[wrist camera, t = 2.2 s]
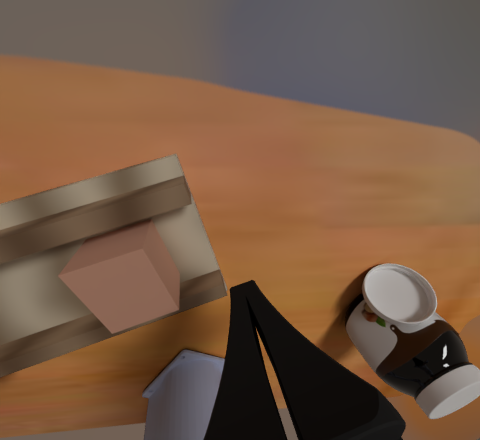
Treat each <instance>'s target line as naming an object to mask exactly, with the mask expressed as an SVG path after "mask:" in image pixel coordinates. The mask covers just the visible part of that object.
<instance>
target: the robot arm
mask: <svg viewBox="0 0 480 440" xmlns="http://www.w3.org/2000/svg"><path fill="white" fill-rule="evenodd" d="M230 298H231V313H230V327H229V335H228V343H227V350H226V356H225V359H223V358H219V357H215V356H211V355H207V354H203V353H199V352H195V351H191V350H183V351H181V352H180V353H179V355H178V356H177V357H176V358H175V359H174V360H173V361H172V362H171V363H170V364H169V365H168V366H167V367H166V368H165V369H164V370H163V371H162V373H161V374H160V375H159V376H158V377H157V378H156V379H155V380H154V381H153V382H152V383H151V384H150V385H149V386H148V387H147V388H146V389H145V391H144V392H143V394H142V396H143V397H144V398H149V401H148V409H147V417H146V426H145V434H144V440H287V437H286V434H285V431H284V427H283V424H282V421H281V418H280V415H279V412H278V408H277V405H276V402H275V399H274V396H273V393H272V389H271V386H270V383H269V380H268V376H267V373H266V369H265V365H264V360H263V356H262V352H261V348H260V344H259V339H258V335H257V331H258V333H259V336H260V338H261V340H262V343H263V345H264V347H265V350H266V352H267V354H268V356H269V359H270V361H271V363H272V366H273V368H274V371H275V373H276V376H277V379H278V382H279V385H280V388H281V390H282V393H283V396H284V399H285V402H286V405H287V408H288V411H289V414H290V417H291V420H292V422H293V425H294V428H295V431H296V434H297V437H298V440H403V439H402V438H401V436H402V434H403V432H404V430H405V426H406V425H405V421H404V420H403V419H402V417H401V415H400V414H399V413H398V411H397V410H396V409H395V408H394V407H393V405H392V404H391V403H390V402H389V401H388V400H387V399H386V398H385V397H384V396H383V394H382V393H381V392H380V391H379V390H378V389H377V388H375V387H374V386H372V385H371V384H369V383H368V382H366V381H364V380H363V379H361V378H360V377H358V376H357V375H355V374H354V373H352V372H351V371H349V370H348V369H346V368H345V367H343V366H342V365H341V364H339V363H338V362H336V361H335V360H334V359H332V358H331V357H330V356H328V355H327V354H326V353H324V352H323V351H322V350H320V349H319V348H318V347H316V346H315V345H314V344H313V343H311V342H310V341H309V340H308V339H307V338H305V337H304V336H303V335H302V334H301V333H300V332H299V331H297V330H296V329H295V328H294V327H293V326H292V325H291V324H290V323H289V322H288V321H287V320H286V319H285V318H284V317H283V316H282V315H281V314H280V313H279V312H278V311H277V310H276V309H275V308H274V306H273V305H272V304H271V303H270V302H269V301H268V300H267V298H266V297H265V296H264V295H263V293H262V292H261V291H260V289H259V288H258V286H257V285H256V283H255V281H253V280H251V281H248V282H245V283H242V284H240V285H237V286H234V287H231V288H230ZM255 326H256V327H255ZM256 329H257V331H256ZM477 440H480V438H479V439H477Z"/></svg>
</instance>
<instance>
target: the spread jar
mask: <svg viewBox="0 0 480 440" xmlns="http://www.w3.org/2000/svg"><path fill="white" fill-rule="evenodd" d="M436 307H437V298H436V295H435V292H434V290H433V288H432V286H431V285H430V284H429V282H428V281H427V280H426V279H425V278H424V277H423V276H422V275H420V274H419V273H417V272H416V271H414V270H412V269H410V268H408V267H405V266H402V265H398V264H381V265H378V266H376V267H374V268H372V269H371V270H370V271H369V272H368V273H367V274H366V276H365V278H364V281H363V284H362V294H360V295H359V296H358V297H357V298H356V299H355V300H354V301H353V302H352V303H351V304H350V306H349V308H348V311H347V313H346V317H345V327H346V331H347V333H348V336H349V337H350V339H351V341H352V342H353V344H354V345H355V347H356V348H357V350H358V351H359V352H360V354H361V355H362V356H363V358H364V359H365V361H366V362H367V363H368V364H369V366H370V367H371V368H372V369H373V371H374V372H375V373H376V374H377V375H378V376H379V377H380V378H381V379H382V380H383V381H384V382H385V383H387V384H388V385H390V386H391V387H393V388H394V389H396V390H398V391H400V392H402V393H405V394H407V395H410V396H412V397H414V399H415V400H416V402H417V404H418V405H419V406H420V407H421V409H422V410H423V411H424V412H425V414H426V415H427V416H428V417H429V418H430V419H437V418H440V417H443V416H446V415H448V414H450V413H452V412H454V411H456V410H458V409H460V408H462V407H463V406H465V405H467V404H468V403H470V402H471V401H473V400H474V399H476V398H477V397H478V396H480V370H479V369H478V368H477V367H476V366H474V365H473V364H472V363H469V361H468V357H467V353H466V349H465V346H464V344H463V342H462V340H461V338H460V336H459V334H458V333H457V332H456V331H455V329H454V328H453V327H452V326H451V325H450V324H448V323H447V322H446V321H445V320H444V319H443V318H442V317H441V316H439V315H438V314H437V313H436V312H435V311H436Z"/></svg>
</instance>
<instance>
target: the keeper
mask: <svg viewBox="0 0 480 440" xmlns="http://www.w3.org/2000/svg"><path fill="white" fill-rule="evenodd" d="M58 277H59V278H60V279H61V280H62V281H63V282H64V283H65V284H66V285H67V286H68V287H69V288H70V289H71V290H72V292H73V293H74V294H75V295H76V296H77V297H78V298H79V299H80V300H81V301H82V302H83V303H84V304H85V305H86V306H87V308H88V309H89V310H90V311H91V312H92V313H93V314H94V315H95V316H96V317H97V318H98V319H99V320H100V321H101V322H102V324H103V325H104V326H105V327H106V328H107V329H108V330H109V331H110V332H111V333H112V334H113V333H116V332H119V331H122V330H125V329H127V328H130V327H133V326H136V325H138V324H141V323H144V322H147V321H150V320H152V319H155V318H158V317H161V316H163V315H166V314H169V313H172V312H175V311H177V310H179V295H180V273H179V271H178V269H177V267H176V265H175V263H174V261H173V260H172V258H171V256H170V254H169V252H168V250H167V248H166V246H165V244H164V242H163V240H162V238H161V236H160V235H159V233H158V231H157V229H156V227H155V225H154V223H153V221H152V219H150V220H147V221H143V222H140V223H137V224H134V225H131V226H127V227H124V228H121V229H118V230H115V231H111V232H108V233H105V234H102V235H99V236H96V237H92V238H89V239H86V240H85V241H84V242H83V244H82V245H81V246H80V248H79V249H78V250H77V252H76V253H75V254H74V255H73V257H72V258H71V259H70V261H69V262H68V263H67V265H66V266H65V267H64V269H63V270H62V271H61V272H60V274H59V275H58Z"/></svg>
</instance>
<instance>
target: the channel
mask: <svg viewBox="0 0 480 440" xmlns="http://www.w3.org/2000/svg"><path fill="white" fill-rule="evenodd" d="M150 219H152V221H153V223H154V225H155V227H156V229H157V231H158V233H159V235H160V236H161V238H162V240H163V242H164V244H165V246H166V248H167V250H168V252H169V254H170V256H171V258H172V260H173V261H174V263H175V265H176V267H177V269H178V271H179V273H180V295H179V310H177V311H175V312H172V313H169V314H166V315H163V316H161V317H158V318H155V319H152V320H150V321H147V322H144V323H141V324H138V325H136V326H133V327H130V328H127V329H125V330H122V331H119V332H116V333H113V334H112V333H111V332H110V331H109V330H108V329H107V328H106V327H105V326H104V325H103V324H102V322H101V321H100V320H99V319H98V318H97V317H96V316H95V315H94V314H93V313H92V312H91V311H90V310H89V309H88V308H87V306H86V305H85V304H84V303H83V302H82V301H81V300H80V299H79V298H78V297H77V296H76V295H75V294H74V293H73V292H72V290H71V289H70V288H69V287H68V286H67V285H66V284H65V283H64V282H63V281H62V280H61V279H60V278H59V277H58V275H59V274H60V272H61V271H62V270H63V269H64V267H65V266H66V265H67V263H68V262H69V261H70V259H71V258H72V257H73V255H74V254H75V253H76V252H77V250H78V249H79V248H80V246H81V245H82V244H83V242H84V241H85V240H86V239H89V238H92V237H96V236H99V235H102V234H105V233H108V232H111V231H115V230H118V229H121V228H124V227H127V226H131V225H134V224H137V223H140V222H143V221H147V220H150ZM226 291H227V286H226V284H225V281H224V278H223V276H222V273H221V270H220V268H219V265H218V262H217V260H216V257H215V255H214V252H213V249H212V247H211V244H210V241H209V239H208V236H207V233H206V231H205V228H204V225H203V223H202V220H201V217H200V215H199V212H198V210H197V207H196V204H195V202H194V199H193V196H192V194H191V191H190V188H189V186H188V183H187V180H186V178H185V175H184V172H183V170H182V167H181V165H180V162H179V159H178V157H177V154H173V155H169V156H166V157H162V158H159V159H155V160H152V161H148V162H145V163H141V164H138V165H134V166H131V167H127V168H124V169H120V170H117V171H113V172H110V173H106V174H103V175H99V176H96V177H92V178H89V179H85V180H82V181H78V182H75V183H71V184H68V185H64V186H61V187H57V188H54V189H50V190H47V191H43V192H40V193H36V194H33V195H29V196H26V197H22V198H19V199H15V200H12V201H8V202H5V203H1V204H0V377H3V376H5V375H8V374H11V373H14V372H16V371H19V370H22V369H25V368H28V367H30V366H33V365H36V364H39V363H41V362H44V361H47V360H50V359H52V358H55V357H58V356H61V355H64V354H66V353H69V352H72V351H75V350H77V349H80V348H83V347H86V346H88V345H91V344H94V343H97V342H100V341H102V340H105V339H108V338H111V337H113V336H116V335H119V334H122V333H125V332H127V331H130V330H133V329H136V328H138V327H141V326H144V325H147V324H149V323H152V322H155V321H158V320H161V319H163V318H166V317H169V316H172V315H174V314H177V313H180V312H183V311H186V310H188V309H191V308H194V307H197V306H199V305H202V304H205V303H208V302H210V301H213V300H216V299H219V298H222V297H224V296H227V292H226Z"/></svg>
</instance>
